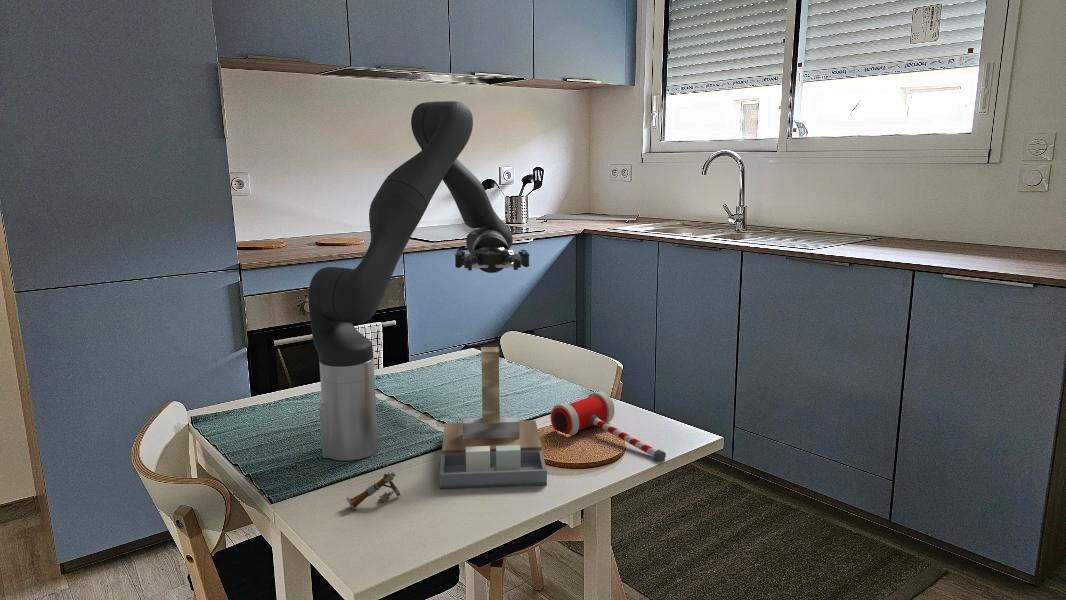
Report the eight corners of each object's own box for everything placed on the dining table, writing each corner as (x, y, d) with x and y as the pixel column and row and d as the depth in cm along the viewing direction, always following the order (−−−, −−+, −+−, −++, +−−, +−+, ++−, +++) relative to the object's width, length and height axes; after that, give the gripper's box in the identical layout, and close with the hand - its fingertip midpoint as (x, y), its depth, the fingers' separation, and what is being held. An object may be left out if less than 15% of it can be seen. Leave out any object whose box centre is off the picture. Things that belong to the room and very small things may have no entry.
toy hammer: (683, 453, 129) (685, 419, 127) (641, 473, 121) (642, 437, 120) (591, 417, 146) (592, 387, 144) (549, 432, 138) (549, 401, 137)
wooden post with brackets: (407, 493, 112) (394, 471, 110) (361, 524, 109) (348, 502, 107) (403, 488, 113) (390, 466, 112) (358, 518, 111) (345, 497, 109)
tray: (440, 489, 115) (439, 474, 114) (441, 466, 123) (441, 453, 122) (546, 484, 116) (546, 470, 116) (542, 463, 124) (542, 449, 123)
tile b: (496, 467, 121) (496, 473, 119) (495, 445, 120) (496, 450, 118) (519, 466, 121) (520, 472, 119) (519, 445, 121) (520, 450, 119)
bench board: (442, 466, 123) (442, 450, 122) (444, 438, 134) (444, 423, 134) (541, 463, 124) (541, 447, 123) (535, 435, 136) (535, 420, 135)
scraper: (462, 440, 126) (460, 352, 123) (463, 433, 129) (461, 347, 126) (519, 438, 127) (519, 351, 123) (518, 431, 130) (518, 346, 126)
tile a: (466, 468, 121) (466, 474, 119) (465, 446, 120) (465, 451, 118) (489, 467, 121) (490, 473, 119) (489, 445, 120) (489, 451, 118)
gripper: (456, 233, 147) (454, 245, 131) (525, 233, 148) (531, 244, 133) (456, 269, 149) (454, 285, 133) (525, 269, 150) (531, 284, 134)
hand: (493, 264), depth 133 cm, fingers open, 8 cm apart
